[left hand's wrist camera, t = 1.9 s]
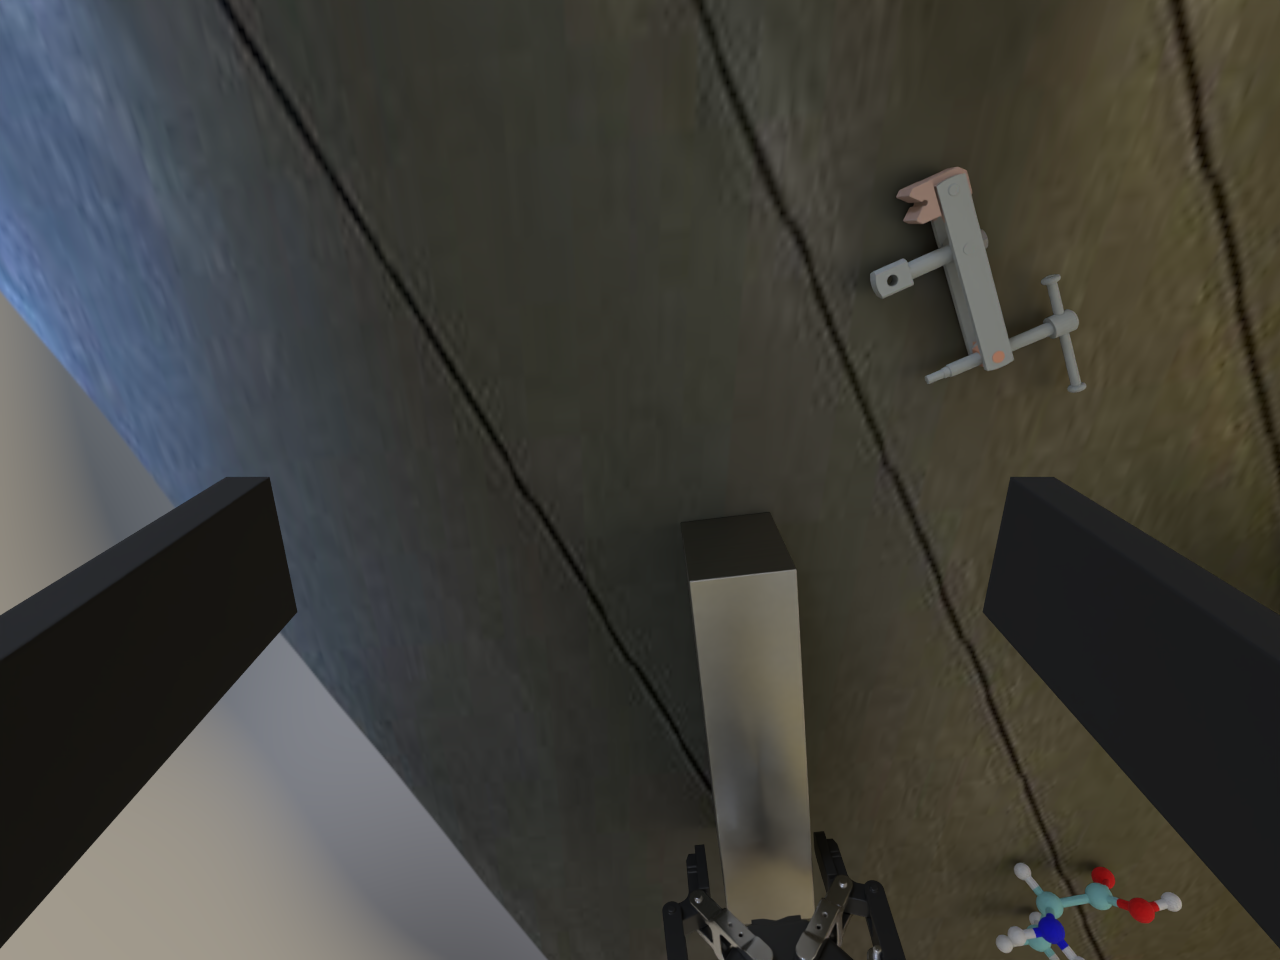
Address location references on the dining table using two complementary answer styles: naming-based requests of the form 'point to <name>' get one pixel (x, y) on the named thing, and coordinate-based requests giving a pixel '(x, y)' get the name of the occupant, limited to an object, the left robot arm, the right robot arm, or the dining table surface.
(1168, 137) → the dining table surface
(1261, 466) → the dining table surface
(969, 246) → the clamp
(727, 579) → the bar
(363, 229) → the dining table surface
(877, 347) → the dining table surface
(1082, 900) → the molecular model
